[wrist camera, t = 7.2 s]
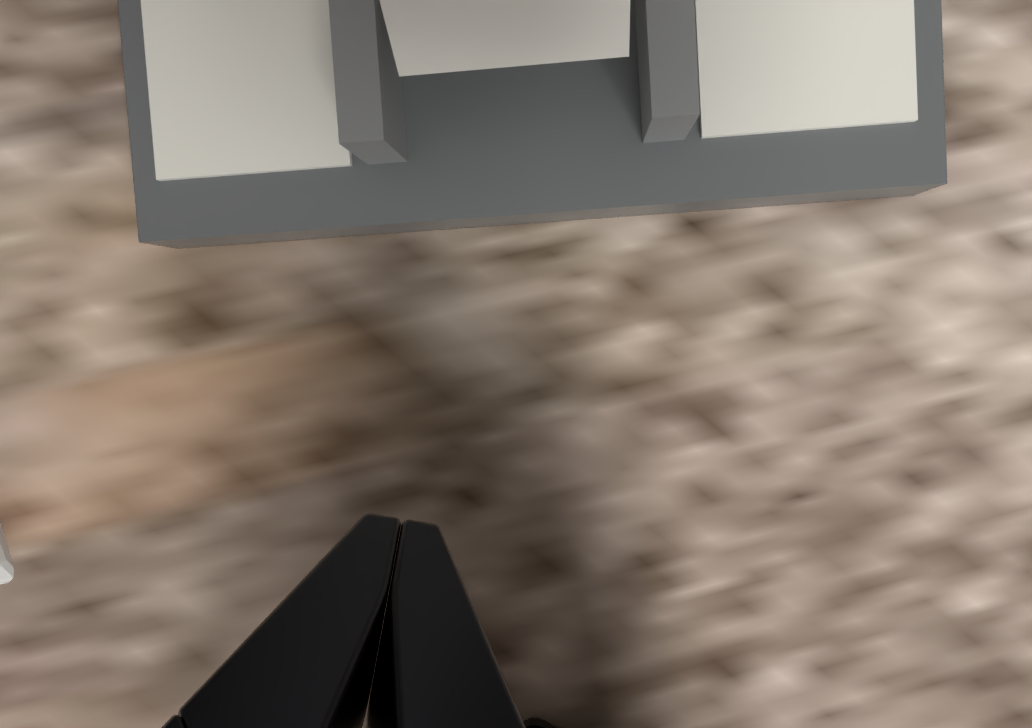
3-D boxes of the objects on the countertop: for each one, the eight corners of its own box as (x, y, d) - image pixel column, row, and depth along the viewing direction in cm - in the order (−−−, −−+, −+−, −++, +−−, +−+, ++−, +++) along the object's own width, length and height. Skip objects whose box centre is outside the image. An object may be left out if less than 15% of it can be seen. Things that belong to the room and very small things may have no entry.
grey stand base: (912, 195, 21) (1002, 163, 17) (177, 248, 23) (79, 232, 18) (899, -160, 21) (989, -290, 16) (148, -81, 22) (42, -180, 18)
